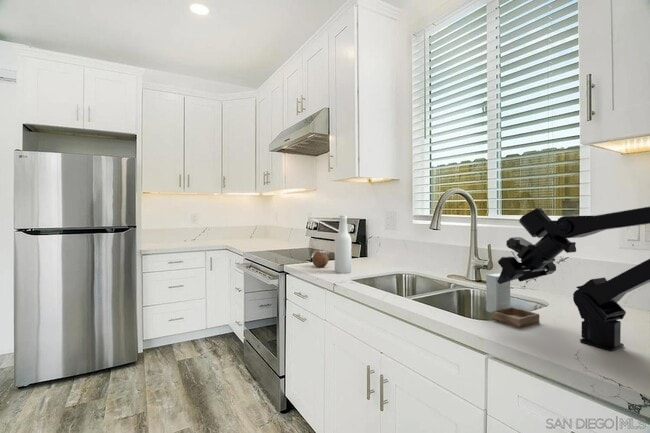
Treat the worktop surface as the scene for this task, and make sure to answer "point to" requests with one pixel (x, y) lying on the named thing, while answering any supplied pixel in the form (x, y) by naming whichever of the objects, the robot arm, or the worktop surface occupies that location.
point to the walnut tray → (515, 317)
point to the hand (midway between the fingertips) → (508, 281)
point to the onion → (320, 259)
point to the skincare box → (496, 293)
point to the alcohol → (343, 247)
